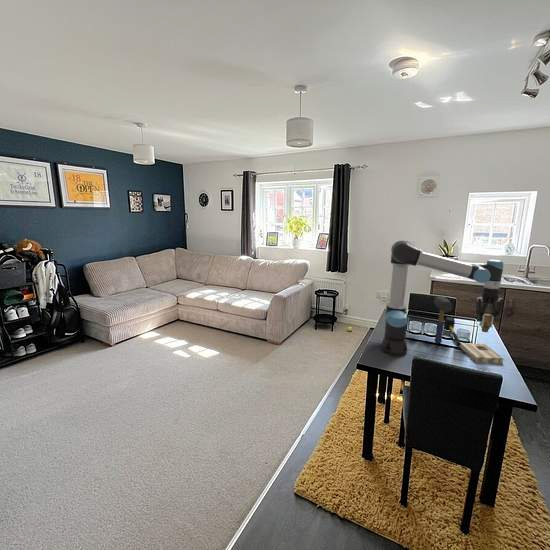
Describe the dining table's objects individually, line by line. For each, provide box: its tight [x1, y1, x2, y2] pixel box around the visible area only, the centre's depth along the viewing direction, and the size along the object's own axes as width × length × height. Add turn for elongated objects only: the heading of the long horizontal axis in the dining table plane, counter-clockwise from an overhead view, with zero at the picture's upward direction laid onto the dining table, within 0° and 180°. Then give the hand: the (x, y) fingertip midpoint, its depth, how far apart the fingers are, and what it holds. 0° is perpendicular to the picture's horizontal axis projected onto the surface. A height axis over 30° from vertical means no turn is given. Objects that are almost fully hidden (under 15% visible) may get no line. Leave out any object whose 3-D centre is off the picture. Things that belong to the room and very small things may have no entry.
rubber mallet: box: [433, 295, 453, 344], centre depth 187 cm, size 12×8×30 cm, turn 171°
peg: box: [480, 313, 492, 333], centre depth 173 cm, size 4×4×10 cm
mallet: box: [443, 316, 462, 347], centre depth 199 cm, size 29×6×10 cm, turn 163°
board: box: [459, 342, 504, 364], centre depth 175 cm, size 14×18×3 cm
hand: (485, 326), depth 174 cm, fingers closed on peg, 4 cm apart
